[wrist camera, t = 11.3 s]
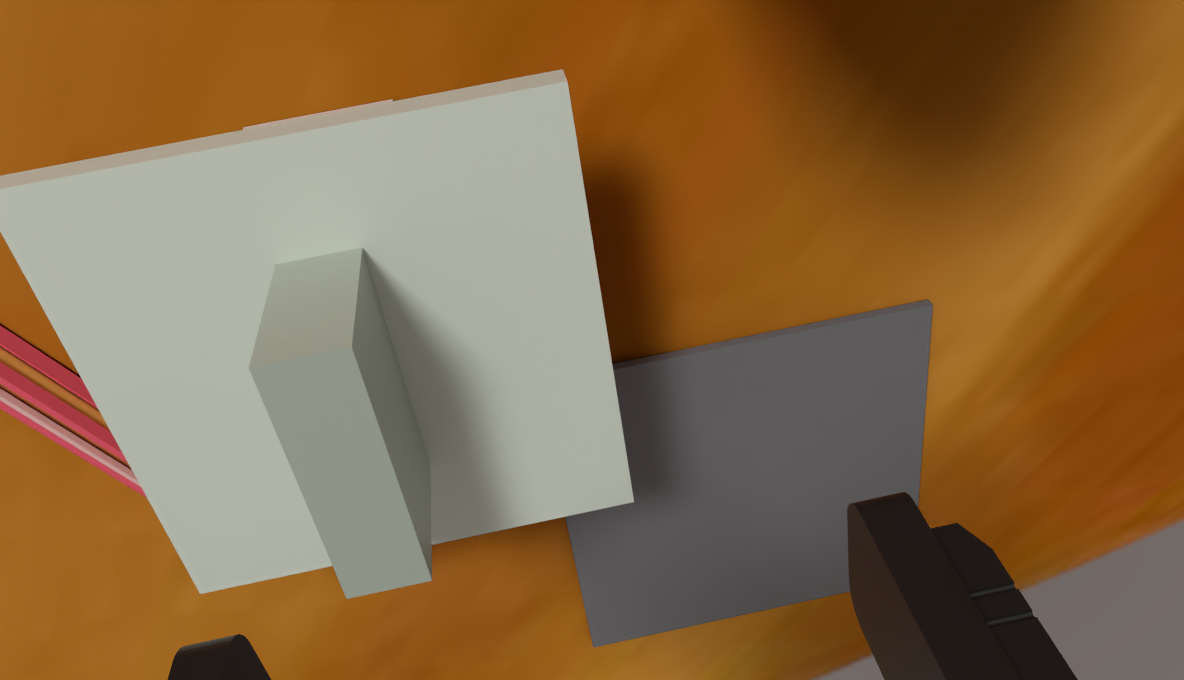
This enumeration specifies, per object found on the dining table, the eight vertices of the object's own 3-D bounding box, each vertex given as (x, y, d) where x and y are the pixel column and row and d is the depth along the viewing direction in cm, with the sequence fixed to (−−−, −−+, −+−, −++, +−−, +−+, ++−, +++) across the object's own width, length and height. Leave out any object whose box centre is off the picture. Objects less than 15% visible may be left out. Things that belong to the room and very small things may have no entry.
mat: (928, 299, 38) (932, 304, 38) (909, 571, 47) (912, 577, 47) (535, 379, 38) (536, 385, 37) (592, 640, 47) (593, 647, 46)
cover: (562, 69, 25) (597, 156, 21) (629, 482, 34) (664, 614, 29) (-7, 176, 25) (-113, 293, 20) (205, 572, 33) (168, 723, 28)
